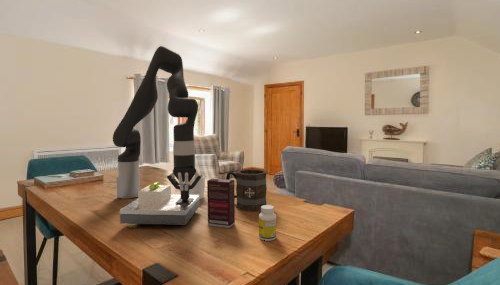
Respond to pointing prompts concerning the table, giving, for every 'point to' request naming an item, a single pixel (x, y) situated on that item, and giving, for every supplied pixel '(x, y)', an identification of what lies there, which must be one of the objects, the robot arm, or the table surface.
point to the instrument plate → (159, 202)
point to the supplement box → (221, 202)
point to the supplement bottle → (267, 223)
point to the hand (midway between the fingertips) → (185, 200)
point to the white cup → (198, 187)
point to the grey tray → (157, 218)
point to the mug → (250, 189)
